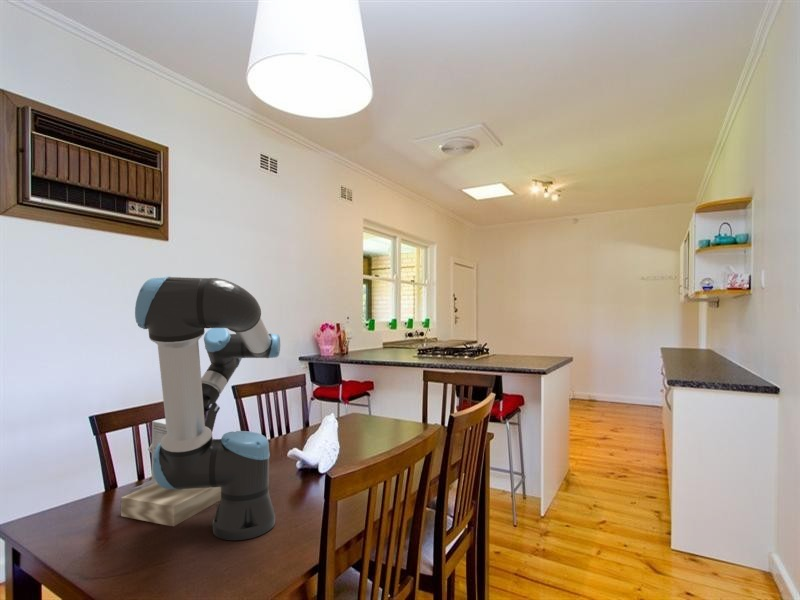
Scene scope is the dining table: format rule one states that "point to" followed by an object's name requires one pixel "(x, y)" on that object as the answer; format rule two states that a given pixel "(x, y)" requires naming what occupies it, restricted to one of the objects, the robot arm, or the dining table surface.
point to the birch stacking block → (167, 503)
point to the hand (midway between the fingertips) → (167, 454)
